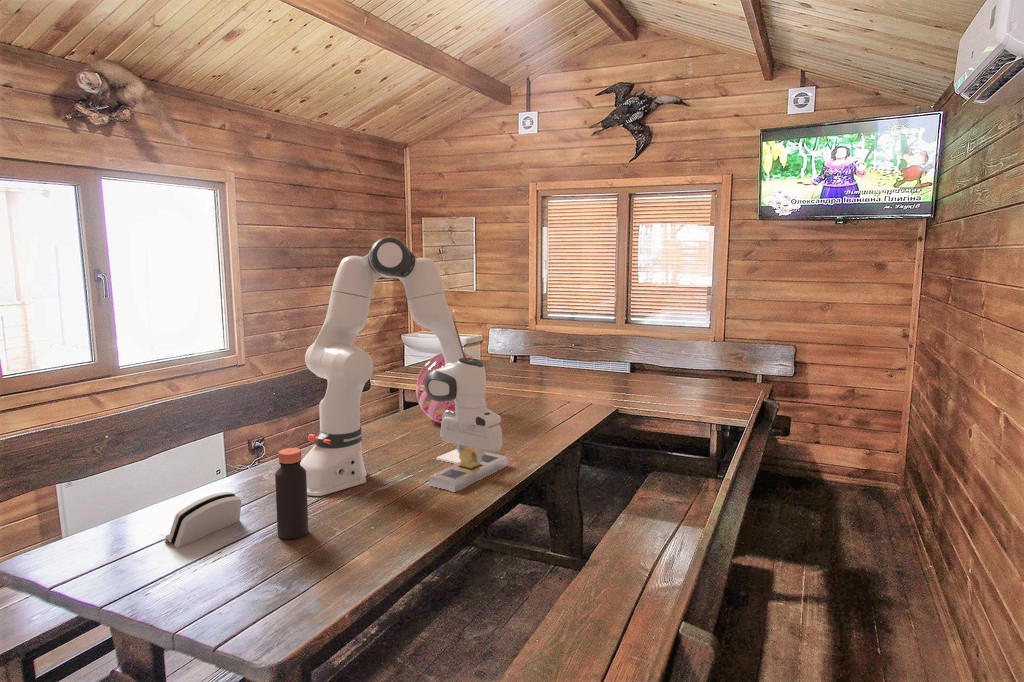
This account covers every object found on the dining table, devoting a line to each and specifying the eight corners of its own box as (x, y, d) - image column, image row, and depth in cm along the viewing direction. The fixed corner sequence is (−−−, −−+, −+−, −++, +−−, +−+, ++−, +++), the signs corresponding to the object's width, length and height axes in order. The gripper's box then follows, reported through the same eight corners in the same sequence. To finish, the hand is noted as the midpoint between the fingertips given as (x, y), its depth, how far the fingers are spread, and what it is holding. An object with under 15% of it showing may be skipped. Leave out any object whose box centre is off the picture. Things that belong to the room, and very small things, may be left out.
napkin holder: (226, 515, 160) (233, 481, 157) (239, 525, 158) (247, 491, 155) (162, 542, 145) (169, 506, 142) (176, 554, 143) (183, 517, 140)
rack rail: (454, 493, 176) (454, 482, 176) (429, 485, 181) (429, 475, 181) (507, 466, 198) (507, 456, 197) (483, 460, 203) (483, 451, 202)
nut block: (471, 479, 187) (471, 452, 185) (460, 476, 189) (460, 449, 188) (479, 475, 190) (480, 448, 189) (468, 472, 192) (469, 446, 191)
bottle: (297, 525, 155) (294, 444, 152) (314, 533, 151) (311, 450, 148) (271, 534, 150) (268, 451, 147) (288, 543, 146) (284, 458, 143)
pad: (461, 466, 197) (461, 463, 197) (436, 459, 203) (436, 457, 203) (481, 457, 206) (481, 454, 206) (456, 451, 211) (456, 449, 211)
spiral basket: (514, 371, 243) (462, 327, 250) (470, 403, 222) (413, 354, 229) (488, 418, 260) (439, 376, 267) (444, 452, 239) (392, 405, 246)
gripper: (435, 411, 190) (435, 456, 192) (493, 422, 179) (492, 470, 181) (449, 406, 195) (449, 451, 197) (505, 417, 184) (505, 464, 186)
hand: (470, 460), depth 189 cm, fingers closed on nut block, 4 cm apart
